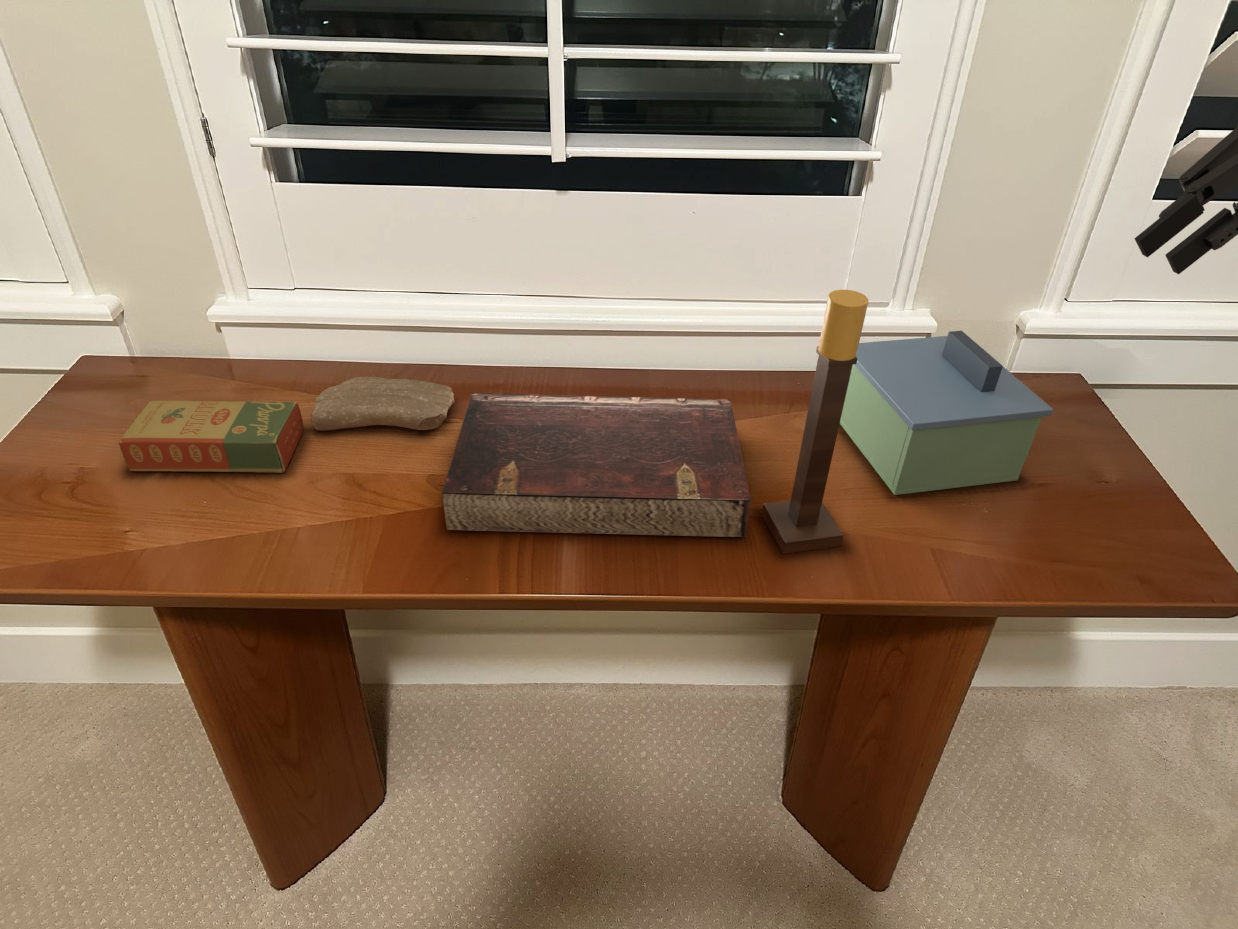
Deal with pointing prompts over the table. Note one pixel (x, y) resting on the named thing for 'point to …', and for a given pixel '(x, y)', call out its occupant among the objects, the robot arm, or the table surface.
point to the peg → (842, 325)
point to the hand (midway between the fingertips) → (1156, 255)
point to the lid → (946, 382)
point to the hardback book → (598, 466)
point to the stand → (813, 467)
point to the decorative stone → (382, 404)
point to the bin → (932, 445)
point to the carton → (213, 436)
